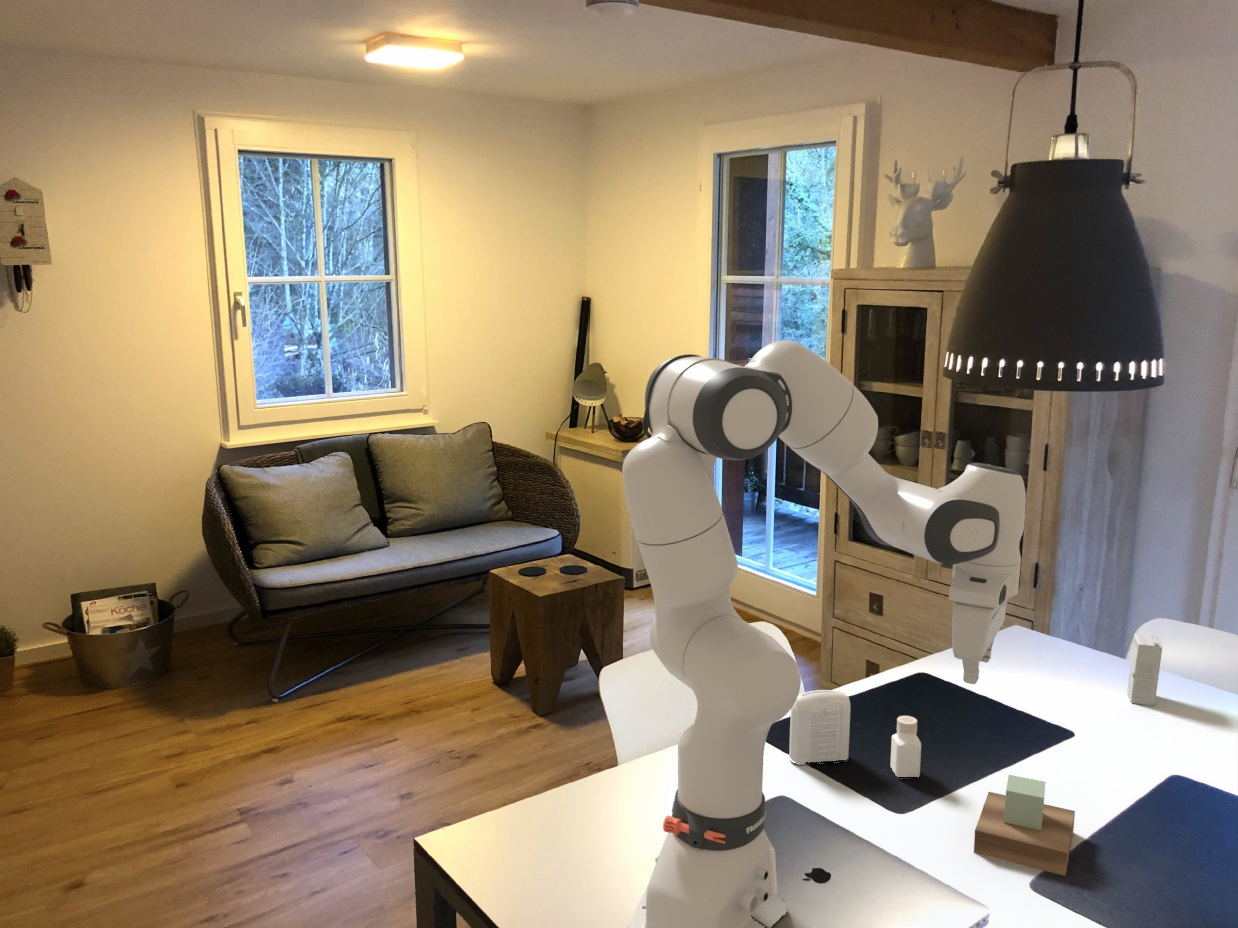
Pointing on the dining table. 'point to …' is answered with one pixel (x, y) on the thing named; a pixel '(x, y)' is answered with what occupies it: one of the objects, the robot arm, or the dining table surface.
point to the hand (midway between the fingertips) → (977, 670)
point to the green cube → (1024, 802)
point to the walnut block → (1025, 837)
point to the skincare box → (1144, 669)
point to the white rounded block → (820, 727)
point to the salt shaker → (906, 748)
